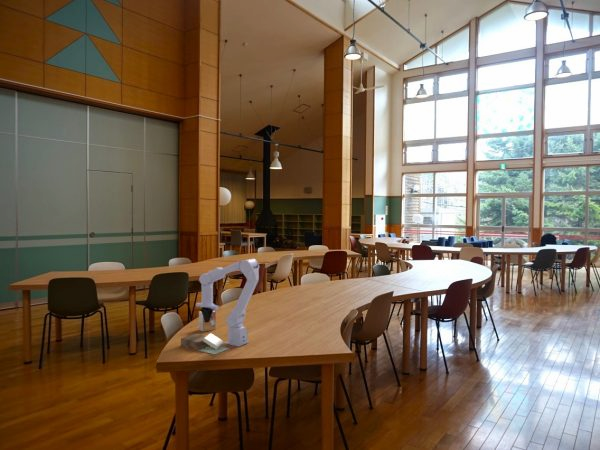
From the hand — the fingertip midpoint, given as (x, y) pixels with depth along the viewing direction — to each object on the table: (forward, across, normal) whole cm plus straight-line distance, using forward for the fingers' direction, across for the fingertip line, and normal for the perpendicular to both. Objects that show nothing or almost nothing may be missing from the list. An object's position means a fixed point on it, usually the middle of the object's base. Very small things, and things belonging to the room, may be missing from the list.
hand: (207, 322), depth 222 cm
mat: (+9, -15, +10) cm, 20 cm away
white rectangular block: (+7, -12, +8) cm, 16 cm away
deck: (+9, -3, +10) cm, 14 cm away
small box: (+10, +14, -14) cm, 22 cm away
